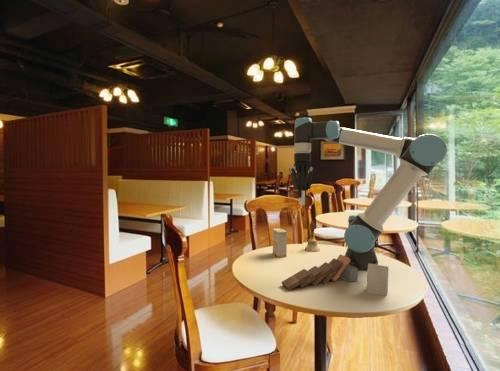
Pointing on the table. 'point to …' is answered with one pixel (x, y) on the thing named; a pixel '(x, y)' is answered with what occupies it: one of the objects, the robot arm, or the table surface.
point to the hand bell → (312, 240)
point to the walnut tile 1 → (296, 279)
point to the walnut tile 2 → (315, 273)
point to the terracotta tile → (345, 261)
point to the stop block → (349, 273)
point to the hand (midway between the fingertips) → (301, 204)
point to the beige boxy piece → (377, 279)
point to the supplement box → (280, 242)
